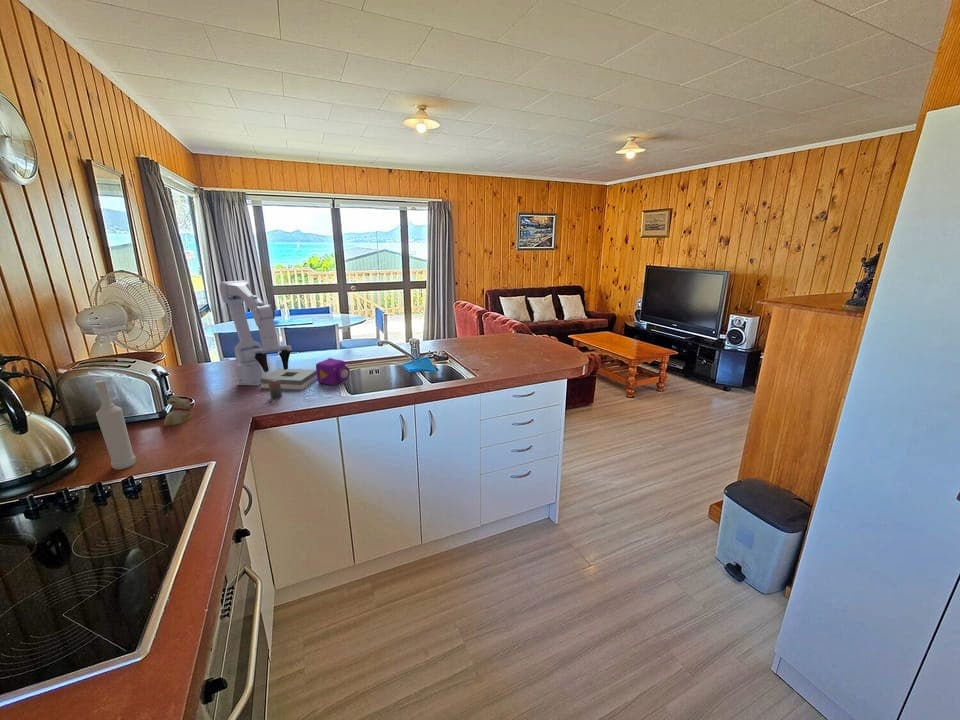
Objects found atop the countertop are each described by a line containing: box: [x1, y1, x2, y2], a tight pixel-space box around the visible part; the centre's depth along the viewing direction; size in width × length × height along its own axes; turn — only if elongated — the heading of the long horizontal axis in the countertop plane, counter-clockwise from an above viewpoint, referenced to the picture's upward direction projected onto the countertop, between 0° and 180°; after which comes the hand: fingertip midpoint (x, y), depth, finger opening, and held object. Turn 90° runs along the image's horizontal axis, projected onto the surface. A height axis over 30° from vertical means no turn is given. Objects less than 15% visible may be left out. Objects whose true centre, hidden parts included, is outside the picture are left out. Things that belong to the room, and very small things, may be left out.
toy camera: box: [315, 357, 351, 386], centre depth 174 cm, size 11×14×10 cm
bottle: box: [94, 379, 137, 470], centre depth 107 cm, size 5×5×25 cm
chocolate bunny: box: [163, 394, 192, 427], centre depth 136 cm, size 6×8×10 cm
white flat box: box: [260, 368, 318, 390], centre depth 173 cm, size 18×14×4 cm
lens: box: [268, 379, 283, 400], centre depth 157 cm, size 4×4×7 cm
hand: (276, 370), depth 156 cm, fingers open, 7 cm apart
